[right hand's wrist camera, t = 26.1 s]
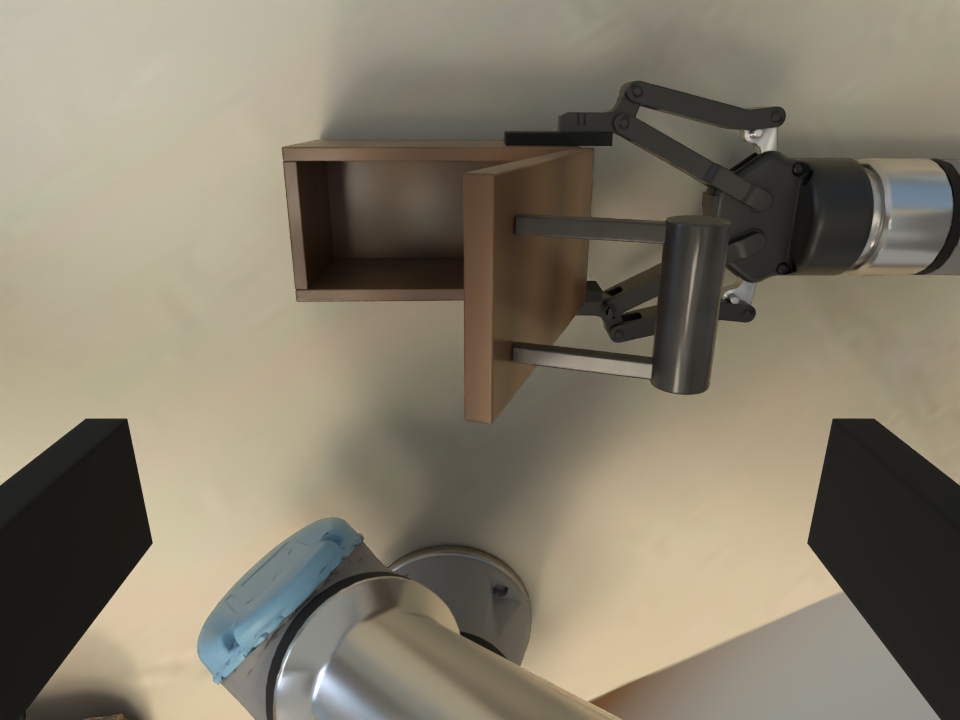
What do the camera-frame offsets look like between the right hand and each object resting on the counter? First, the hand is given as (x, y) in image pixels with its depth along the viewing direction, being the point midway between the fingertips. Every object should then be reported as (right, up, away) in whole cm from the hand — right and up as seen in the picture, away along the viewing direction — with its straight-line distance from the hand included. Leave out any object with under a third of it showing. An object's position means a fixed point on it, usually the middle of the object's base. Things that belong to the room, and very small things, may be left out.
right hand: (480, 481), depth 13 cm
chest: (-3, +14, +37) cm, 40 cm away
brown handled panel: (+2, +7, +19) cm, 21 cm away
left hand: (+2, +12, +31) cm, 33 cm away
